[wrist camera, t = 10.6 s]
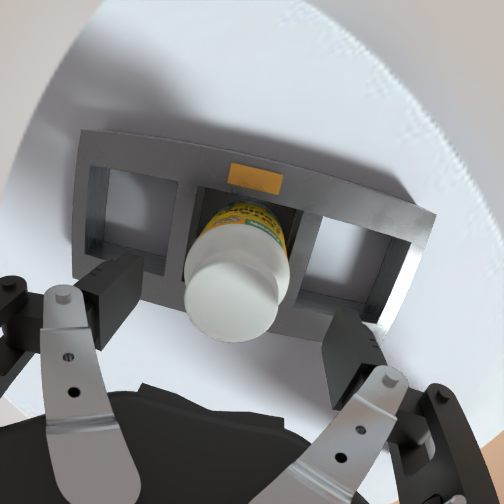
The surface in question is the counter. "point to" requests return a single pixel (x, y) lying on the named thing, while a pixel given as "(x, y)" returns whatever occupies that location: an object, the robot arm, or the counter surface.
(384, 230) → the three-compartment grey tray
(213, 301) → the supplement bottle
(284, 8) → the counter surface
